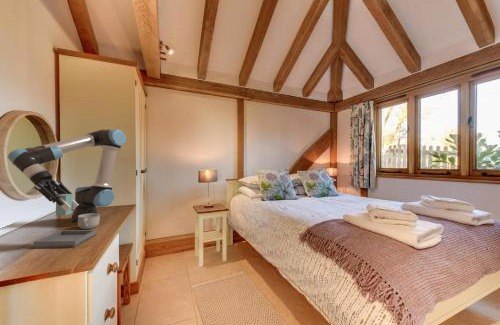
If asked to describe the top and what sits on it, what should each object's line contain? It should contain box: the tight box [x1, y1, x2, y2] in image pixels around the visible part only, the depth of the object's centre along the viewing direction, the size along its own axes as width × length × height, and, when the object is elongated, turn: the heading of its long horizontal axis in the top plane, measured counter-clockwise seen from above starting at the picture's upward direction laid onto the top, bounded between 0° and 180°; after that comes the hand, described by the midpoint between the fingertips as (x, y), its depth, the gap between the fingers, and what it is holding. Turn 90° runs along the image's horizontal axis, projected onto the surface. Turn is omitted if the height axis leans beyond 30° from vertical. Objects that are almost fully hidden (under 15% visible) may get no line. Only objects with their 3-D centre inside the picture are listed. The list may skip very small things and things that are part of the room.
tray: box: [33, 229, 97, 249], centre depth 105 cm, size 16×18×3 cm
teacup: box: [77, 213, 101, 230], centre depth 125 cm, size 14×11×8 cm
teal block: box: [55, 193, 74, 216], centre depth 105 cm, size 4×4×10 cm
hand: (72, 207), depth 105 cm, fingers closed on teal block, 4 cm apart
